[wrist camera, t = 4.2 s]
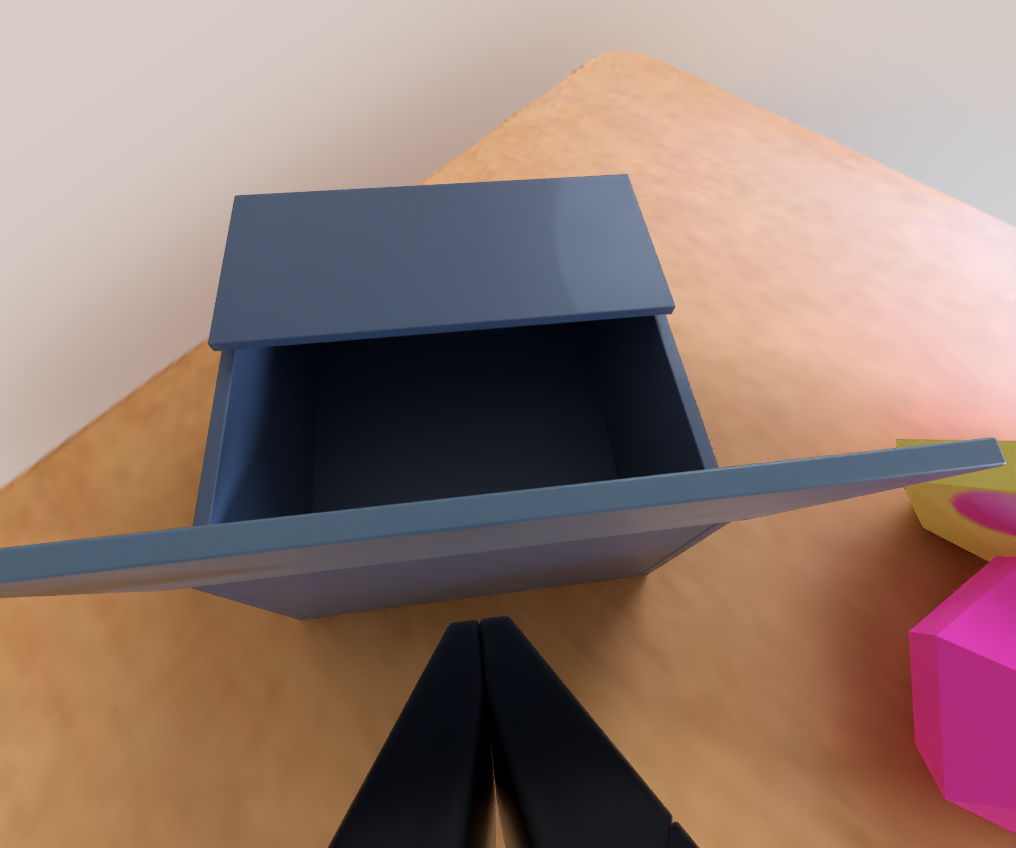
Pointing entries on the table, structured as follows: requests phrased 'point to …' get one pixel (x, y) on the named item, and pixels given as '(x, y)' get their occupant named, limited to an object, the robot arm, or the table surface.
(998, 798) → the toy
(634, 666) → the table surface
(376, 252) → the carton
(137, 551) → the flap
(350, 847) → the robot arm
